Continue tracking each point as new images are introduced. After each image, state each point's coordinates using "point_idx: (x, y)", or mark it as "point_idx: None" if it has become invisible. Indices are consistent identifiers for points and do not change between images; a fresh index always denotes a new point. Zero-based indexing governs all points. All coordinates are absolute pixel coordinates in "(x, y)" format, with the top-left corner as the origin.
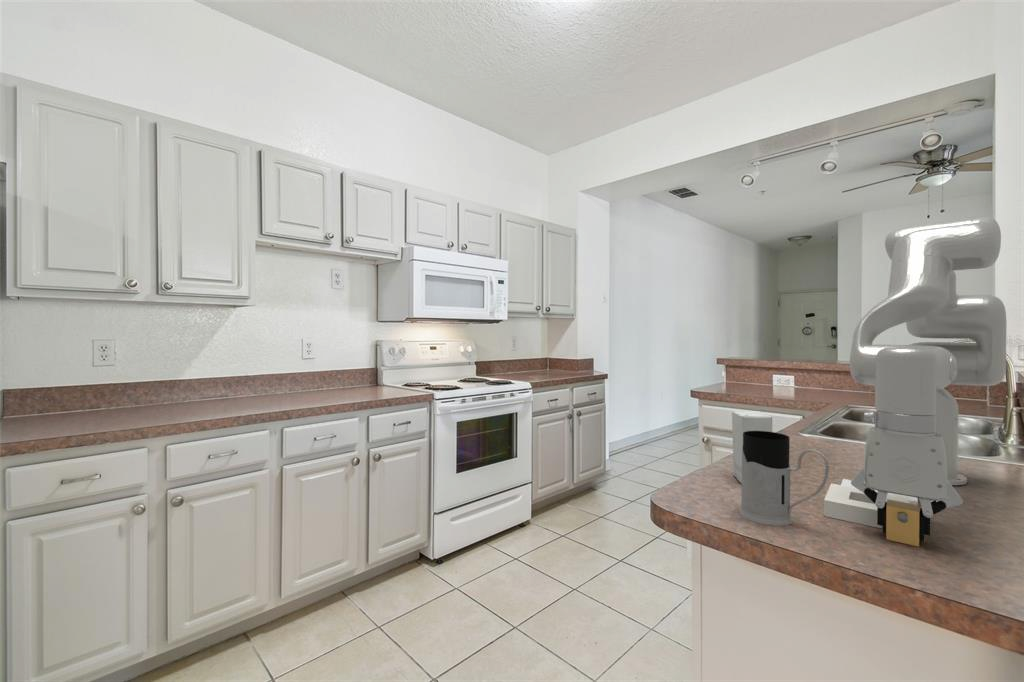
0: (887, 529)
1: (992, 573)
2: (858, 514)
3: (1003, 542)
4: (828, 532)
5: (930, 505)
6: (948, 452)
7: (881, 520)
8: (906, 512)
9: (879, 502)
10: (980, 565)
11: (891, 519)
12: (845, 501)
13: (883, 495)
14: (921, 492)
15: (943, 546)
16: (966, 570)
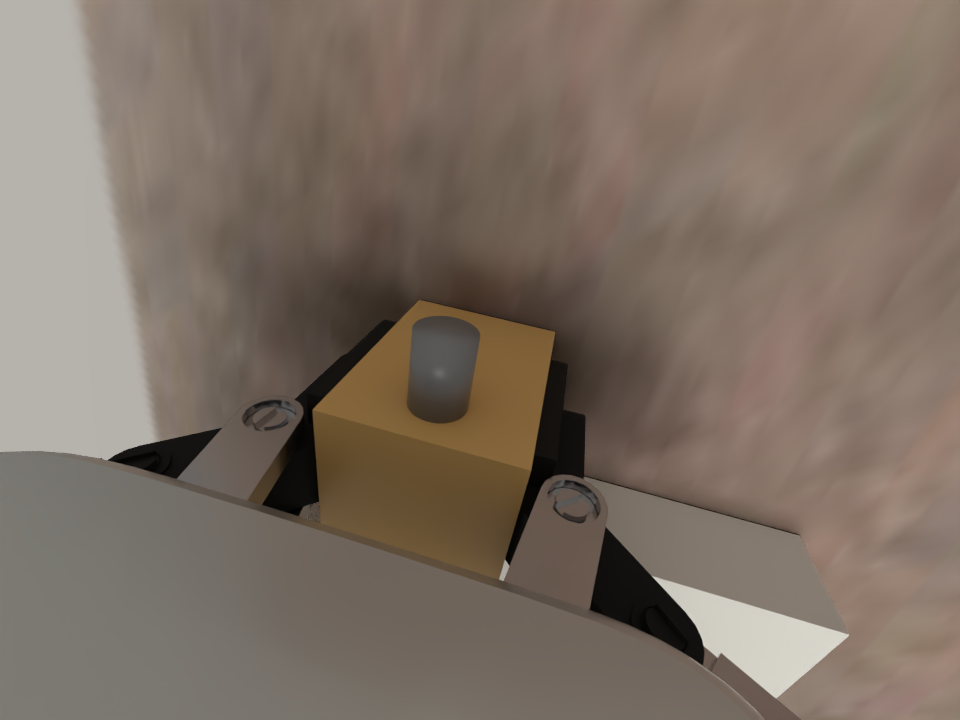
0: (544, 358)
1: (161, 104)
2: (640, 531)
3: None
4: (916, 296)
5: (200, 457)
6: None
7: (562, 425)
8: (402, 417)
9: (573, 520)
10: (208, 192)
11: (513, 394)
12: (698, 628)
13: (538, 576)
14: (97, 530)
15: (330, 357)
16: (245, 64)
